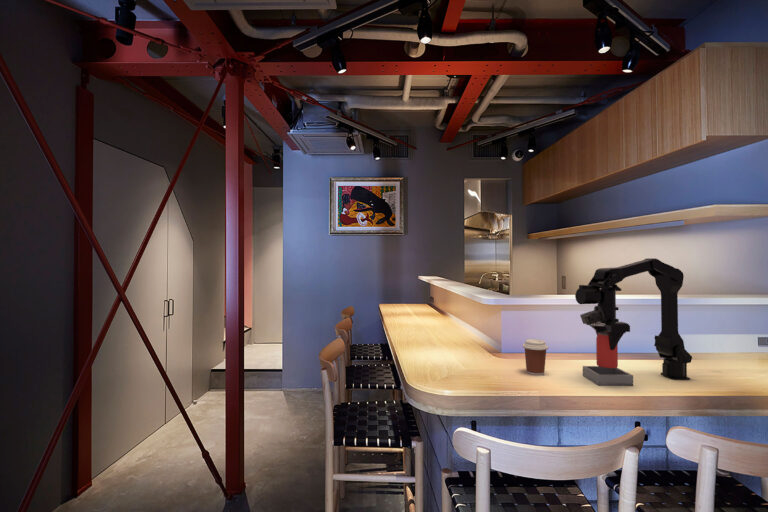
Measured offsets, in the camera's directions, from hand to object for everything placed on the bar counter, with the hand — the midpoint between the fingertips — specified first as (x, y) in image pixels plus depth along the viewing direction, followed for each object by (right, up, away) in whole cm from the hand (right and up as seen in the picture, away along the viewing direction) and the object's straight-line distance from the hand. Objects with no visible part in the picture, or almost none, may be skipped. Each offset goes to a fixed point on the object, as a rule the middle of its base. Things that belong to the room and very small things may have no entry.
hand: (607, 347), depth 140 cm
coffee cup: (-22, -12, +10) cm, 27 cm away
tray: (0, -12, 0) cm, 12 cm away
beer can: (0, -7, 0) cm, 7 cm away
